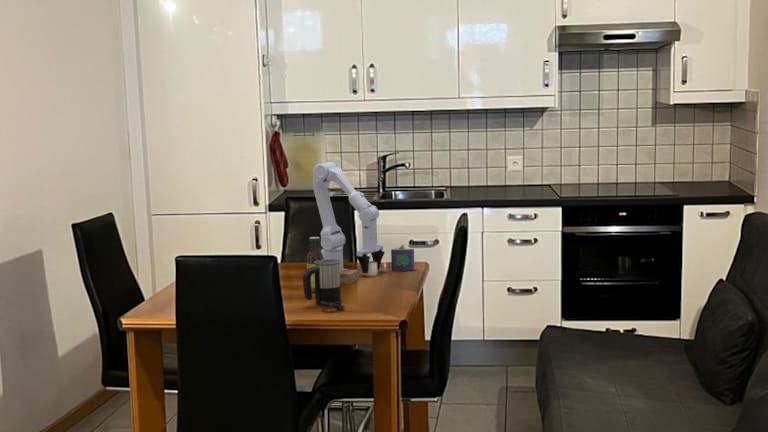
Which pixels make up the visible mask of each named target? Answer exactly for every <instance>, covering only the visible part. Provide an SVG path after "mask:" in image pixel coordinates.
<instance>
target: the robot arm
mask: <svg viewBox="0 0 768 432" xmlns="http://www.w3.org/2000/svg"><path fill="white" fill-rule="evenodd" d="M312 174H313V175H312V177H313V179H312V189H313V193H314V196H315V200H316V204H317V208H318V212H319V215H320V221H321V224H322V229H321V231H320V247H322V249H320V250H321V252H322V255H323V258H324V260H325V259H334V260H339V261H340V269H344V257H343V256H344V255H343V253H344V251H343V249H344V245H345V244H346V236H345V234H344V233H343V232H342V228H341V227H340V226H339V225H338V224H337V221H336V218H335V217H336V216H335V214H334V213H335V212H334V209H333V206H332V201H331V198H330V193H329V188H328V186H329V184H330V182H332V183H336V184H337V185H338V186H339V188H340V189H341V190H343V192H344V193H345V194H346V195H347V196H348V202H349V203H350V204H351V206H352V207H353V208H354V209H355V210H356V212H357V213H358V218H359V220H360V221H361V230H362V231H361V232H362V233H361V234H362V248H360V249H359V250H357V251H356V255H355V257H356V259H357V262H358V263H359V265H360V268H361V272H362V274H365V273H368V264H369V261H370V259H371V258H372V261H376V262H377V271H378V270H380V268H381V263H382V260H383V257H384V255H385V251H384V245H383V244H378V229H377V228H378V227H377V226H378V221H377V220H378V218H379V216H380V212H379V209H378V207H377V206H376V205H373V204H371V202H369V201H368V200H367V198H366V197H365V194H364V193H363V192H361V191H358V190H355V188H354V187H353V185H352V184H351V182H350V181H349V180H348V178H347V177H346V175H345V174H344V173H343V170H342V168H341V167H340V166H339V164H338V162H335V161H334V160H333V161H329V162H323V163H322V162H321V163H320V162H319V163H317V164H315V166H314V168H313V170H312ZM369 254H370V255H369Z"/></svg>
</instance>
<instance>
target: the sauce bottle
mask: <svg viewBox="0 0 768 432" xmlns="http://www.w3.org/2000/svg"><path fill="white" fill-rule="evenodd" d="M308 242H309V252H308V253H307V255H306V262H307V263H306V270H307V269H308V268H311V267H315V263H314V262H315V261H318V260H324V258H323V255H322V252H321V250H322V249H321V236H320V237H319V236H311V237H309V238H308ZM311 290H312V293H315V273H314V274H312V276H311Z"/></svg>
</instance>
